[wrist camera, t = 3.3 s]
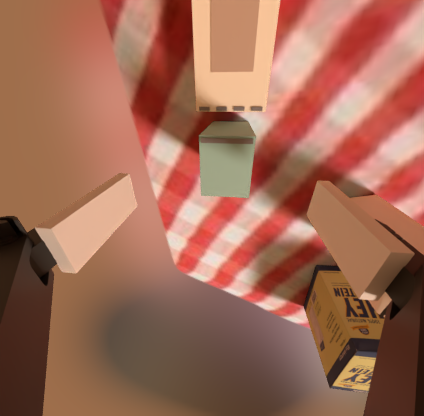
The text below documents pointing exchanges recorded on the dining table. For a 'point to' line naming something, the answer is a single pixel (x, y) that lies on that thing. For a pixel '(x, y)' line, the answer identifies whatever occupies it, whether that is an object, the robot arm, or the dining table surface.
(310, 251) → the dining table surface
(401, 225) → the milk carton
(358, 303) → the protein box
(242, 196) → the pale green block
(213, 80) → the block
